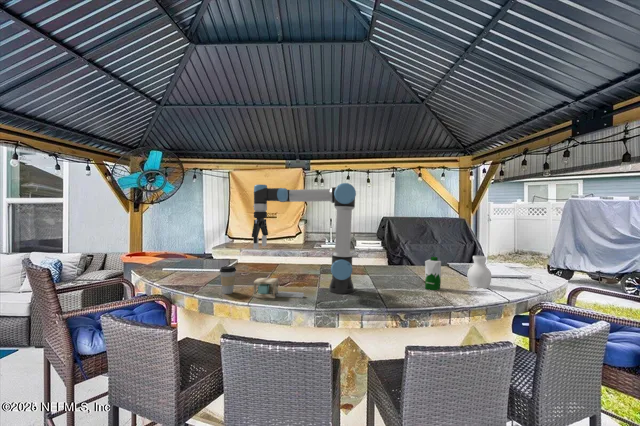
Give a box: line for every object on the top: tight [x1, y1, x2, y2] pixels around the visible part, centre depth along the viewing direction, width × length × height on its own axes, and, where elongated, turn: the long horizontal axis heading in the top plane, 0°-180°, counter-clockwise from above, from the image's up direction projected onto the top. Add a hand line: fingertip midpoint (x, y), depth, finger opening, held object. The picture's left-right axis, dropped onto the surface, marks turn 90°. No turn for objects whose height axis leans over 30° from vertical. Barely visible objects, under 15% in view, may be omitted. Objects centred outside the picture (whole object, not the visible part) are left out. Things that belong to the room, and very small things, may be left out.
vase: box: [467, 255, 492, 289], centre depth 194 cm, size 14×14×20 cm
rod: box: [270, 290, 305, 299], centre depth 167 cm, size 19×3×3 cm, turn 81°
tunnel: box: [253, 277, 279, 299], centre depth 168 cm, size 12×9×9 cm
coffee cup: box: [219, 265, 237, 295], centre depth 173 cm, size 9×9×15 cm
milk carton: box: [424, 256, 442, 291], centre depth 187 cm, size 9×9×20 cm
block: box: [257, 284, 269, 294], centre depth 168 cm, size 5×5×6 cm
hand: (260, 247), depth 171 cm, fingers open, 13 cm apart
